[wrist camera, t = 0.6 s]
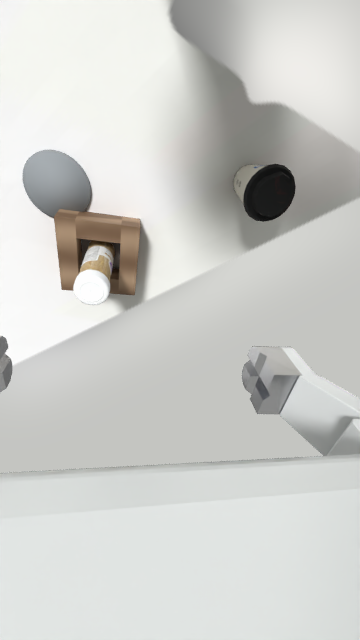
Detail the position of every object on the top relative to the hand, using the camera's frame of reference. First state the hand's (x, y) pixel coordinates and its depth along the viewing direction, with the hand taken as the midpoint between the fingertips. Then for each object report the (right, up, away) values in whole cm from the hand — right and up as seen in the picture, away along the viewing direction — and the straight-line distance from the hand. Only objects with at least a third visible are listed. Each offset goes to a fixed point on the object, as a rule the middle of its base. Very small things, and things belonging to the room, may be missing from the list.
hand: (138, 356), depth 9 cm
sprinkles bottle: (-12, +13, +36) cm, 40 cm away
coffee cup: (+12, +23, +32) cm, 41 cm away
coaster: (-16, +21, +29) cm, 39 cm away
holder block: (-12, +13, +36) cm, 40 cm away
